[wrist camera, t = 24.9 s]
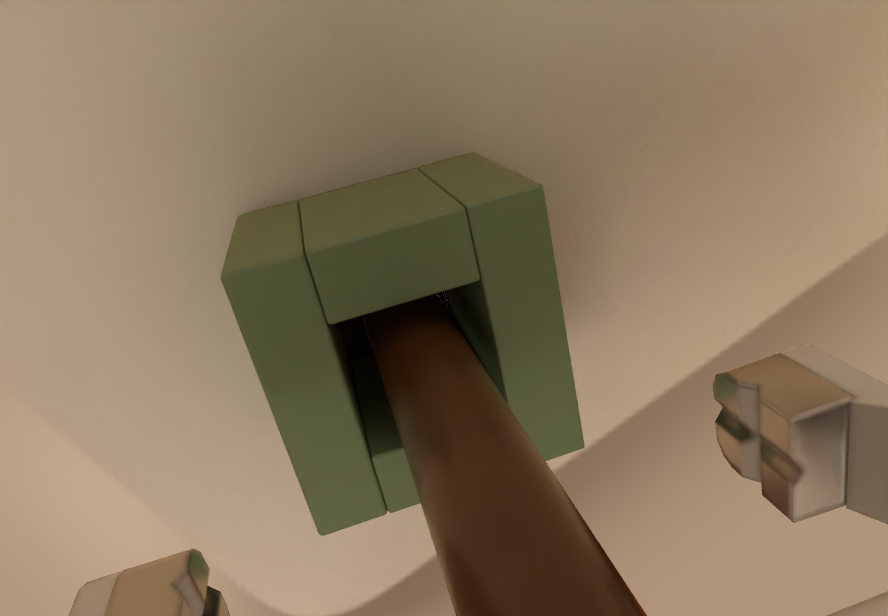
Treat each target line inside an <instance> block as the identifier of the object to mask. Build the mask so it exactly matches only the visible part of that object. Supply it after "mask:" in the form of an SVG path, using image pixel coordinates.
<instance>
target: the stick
mask: <svg viewBox="0 0 888 616" xmlns="http://www.w3.org/2000/svg"><path fill="white" fill-rule="evenodd" d="M362 318H363V321H364V324H365V327H366V331H367V334H368V337H369V340H370V343H371V346H372V350H373V353H374V356H375V359H376V362H377V365H378V369H379V372H380V375H381V378H382V381H383V385H384V388H385V391H386V394H387V397H388V400H389V404H390V407H391V410H392V413H393V416H394V419H395V423H396V426H397V429H398V432H399V435H400V438H401V442H402V445H403V448H404V451H405V454H406V457H407V461H408V464H409V467H410V470H411V473H412V477H413V480H414V483H415V486H416V489H417V492H418V496H419V499H420V502H421V505H422V508H423V511H424V515H425V518H426V521H427V524H428V527H429V530H430V534H431V537H432V540H433V543H434V546H435V550H436V553H437V556H438V559H439V562H440V565H441V569H442V572H443V575H444V578H445V581H446V584H447V587H448V590H449V594H450V597H451V600H452V603H453V606H454V610H455V613H456V616H647V615H646V614H645V612H644V611H643V609H642V608H641V606H640V605H639V603H638V602H637V600H636V598H635V597H634V595H633V594H632V593H631V591H630V589H629V588H628V587H627V585H626V583H625V582H624V580H623V579H622V577H621V576H620V574H619V573H618V571H617V570H616V568H615V567H614V565H613V563H612V562H611V560H610V559H609V558H608V556H607V554H606V553H605V551H604V550H603V548H602V547H601V545H600V544H599V542H598V541H597V539H596V538H595V536H594V535H593V533H592V532H591V530H590V529H589V527H588V526H587V524H586V523H585V521H584V520H583V518H582V516H581V515H580V513H579V512H578V510H577V509H576V507H575V506H574V504H573V503H572V501H571V500H570V498H569V497H568V495H567V494H566V492H565V491H564V489H563V487H562V486H561V485H560V483H559V481H558V480H557V478H556V477H555V475H554V474H553V472H552V471H551V469H550V468H549V466H548V465H547V463H546V462H545V460H544V459H543V457H542V456H541V454H540V453H539V451H538V450H537V448H536V446H535V445H534V443H533V442H532V440H531V439H530V437H529V436H528V434H527V433H526V431H525V430H524V428H523V427H522V425H521V424H520V422H519V421H518V419H517V418H516V416H515V415H514V413H513V412H512V410H511V408H510V407H509V405H508V404H507V402H506V401H505V399H504V398H503V396H502V395H501V393H500V392H499V390H498V389H497V387H496V386H495V384H494V383H493V381H492V380H491V378H490V377H489V375H488V374H487V372H486V371H485V369H484V367H483V366H482V364H481V363H480V361H479V360H478V358H477V357H476V355H475V354H474V352H473V351H472V349H471V348H470V346H469V345H468V343H467V342H466V340H465V339H464V337H463V336H462V334H461V333H460V331H459V329H458V328H457V326H456V325H455V323H454V322H453V320H452V319H451V317H450V316H449V314H448V313H447V311H446V310H445V308H444V307H443V305H442V304H441V302H440V301H439V299H438V298H437V296H436V295H435V294H432V295H429V296H426V297H422V298H419V299H416V300H412V301H409V302H406V303H402V304H399V305H395V306H392V307H389V308H385V309H382V310H379V311H375V312H372V313H369V314H365V315H362Z"/></svg>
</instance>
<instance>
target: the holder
mask: <svg viewBox="0 0 888 616" xmlns="http://www.w3.org/2000/svg"><path fill="white" fill-rule="evenodd" d="M221 281H222V283H223V286H224V288H225V291H226V294H227V296H228V299H229V301H230V304H231V307H232V309H233V312H234V314H235V317H236V320H237V322H238V325H239V327H240V330H241V333H242V335H243V338H244V340H245V343H246V346H247V348H248V351H249V353H250V356H251V359H252V361H253V364H254V366H255V369H256V372H257V374H258V377H259V379H260V382H261V385H262V387H263V390H264V392H265V395H266V398H267V400H268V403H269V405H270V408H271V411H272V413H273V416H274V418H275V421H276V424H277V426H278V429H279V431H280V434H281V437H282V439H283V442H284V444H285V447H286V450H287V452H288V455H289V457H290V460H291V463H292V465H293V468H294V470H295V473H296V476H297V478H298V481H299V483H300V486H301V489H302V491H303V494H304V496H305V499H306V502H307V504H308V507H309V509H310V512H311V515H312V517H313V520H314V522H315V525H316V528H317V530H318V533H319V534H320V535H327V534H329V533H332V532H335V531H338V530H341V529H344V528H347V527H350V526H353V525H356V524H359V523H362V522H365V521H368V520H371V519H374V518H377V517H380V516H383V515H385V514H386V513H387V510H388V511H389V512H390V513H392V512H395V511H398V510H401V509H404V508H407V507H410V506H413V505H416V504H419V503H421V502H420V499H419V496H418V492H417V489H416V486H415V483H414V480H413V477H412V473H411V470H410V467H409V464H408V461H407V457H406V454H405V451H404V448H403V445H402V442H401V438H400V435H399V432H398V429H397V426H396V423H395V419H394V416H393V413H392V410H391V407H390V404H389V400H388V397H387V394H386V391H385V388H384V385H383V381H382V378H381V375H380V372H379V369H378V365H377V362H376V359H375V356H374V354H373V355H369V356H366V357H363V358H360V359H356V360H353V361H351V362H350V363H349V360H348V357H347V354H346V351H345V348H344V344H343V341H342V338H341V335H340V332H339V329H338V326H337V323H338V322H342V321H345V320H348V319H352V318H355V317H358V316H362V315H365V314H369V313H372V312H375V311H379V310H382V309H385V308H389V307H392V306H395V305H399V304H402V303H406V302H409V301H412V300H416V299H419V298H422V297H426V296H429V295H432V294H436V293H439V292H443V291H447V295H448V299H449V304H450V308H451V312H452V316H453V321H454V323H455V325H456V326H457V328H458V329H459V331H460V333H461V334H462V336H463V337H464V339H465V340H466V342H467V343H468V345H469V346H470V348H471V349H472V351H473V352H474V354H475V355H476V357H477V358H478V360H479V361H480V363H481V364H482V366H483V367H484V369H485V371H486V372H487V374H488V375H489V377H490V378H491V380H492V381H493V383H494V384H495V386H496V387H497V389H498V390H499V392H500V393H501V395H502V396H503V398H504V399H505V401H506V402H507V404H508V405H509V407H510V408H511V410H512V412H513V413H514V415H515V416H516V418H517V419H518V421H519V422H520V424H521V425H522V427H523V428H524V430H525V431H526V433H527V434H528V436H529V437H530V439H531V440H532V442H533V443H534V445H535V446H536V448H537V450H538V451H539V453H540V454H541V456H542V457H543V459H544V460H545V461H547V460H550V459H553V458H556V457H559V456H561V455H564V454H567V453H570V452H573V451H576V450H579V449H582V448H584V441H583V435H582V428H581V422H580V416H579V410H578V403H577V397H576V391H575V385H574V378H573V372H572V366H571V360H570V354H569V347H568V341H567V335H566V329H565V322H564V316H563V310H562V304H561V297H560V291H559V285H558V279H557V272H556V266H555V260H554V254H553V247H552V241H551V235H550V229H549V223H548V216H547V210H546V204H545V198H544V191H543V186H542V185H541V184H539V183H537V182H535V181H532V180H530V179H528V178H526V177H524V176H522V175H520V174H518V173H516V172H514V171H512V170H509V169H507V168H505V167H503V166H501V165H499V164H497V163H495V162H493V161H491V160H489V159H486V158H484V157H482V156H480V155H478V154H476V153H469V154H466V155H462V156H458V157H455V158H451V159H447V160H443V161H440V162H436V163H432V164H429V165H425V166H421V167H419V168H418V169H411V170H407V171H403V172H400V173H396V174H392V175H389V176H385V177H381V178H378V179H374V180H370V181H366V182H363V183H359V184H355V185H352V186H348V187H344V188H340V189H337V190H333V191H329V192H326V193H322V194H318V195H314V196H311V197H307V198H303V199H301V200H299V203H298V202H297V201H292V202H289V203H285V204H281V205H278V206H274V207H270V208H266V209H263V210H259V211H255V212H252V213H248V214H244V215H241V216H239V217H237V220H236V223H235V227H234V230H233V234H232V238H231V241H230V245H229V248H228V252H227V255H226V259H225V262H224V266H223V270H222V273H221Z"/></svg>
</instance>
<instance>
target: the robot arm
mask: <svg viewBox="0 0 888 616" xmlns="http://www.w3.org/2000/svg"><path fill="white" fill-rule="evenodd" d="M713 392H714V399H715V400H716V401H718V402H719V403H720V404H721V405H722V406H723V408H722V410H721V412H720V414H719V416H718V417H717V419H716V421H715V424H716V434H717V440H718V443H719V445H720V448H721V450H722V453H723V455H724V457H725V458H726V459H727V461H728V462H729V464H730V465H731V466H732V468H734V469H735V470H736V471H737V472H738V473H739V474H740V475H741V476H742V477H744V478H747V479H751V480H754V481H757V482H761V483H762V495H763V496H764V497H765V498H767V500H769V501H770V502H771V503H772V504H773V505H774V506H775V507H776V508H778V509H779V510H780V511H781V512H782V513H783V514H784V515H786V516H787V517H788V518H789V519H790V520H791V521H792V522H793V523H795V522H798V521H801V520H804V519H807V518H810V517H813V516H815V515H818V514H821V513H824V512H827V511H830V510H833V509H836V508H839V507H842V506H845V505H847V507H846V508H848V509H850V510H853V511H856V512H858V513H861V514H863V515H866V516H868V517H871V518H874V519H876V520H879V521H881V522H884V523H887V524H888V385H886V384H884V383H882V382H881V381H879V380H876V379H875V378H873V377H871V376H869V375H867V374H865V373H863V372H861V371H860V370H858V369H856V368H854V367H852V366H850V365H848V364H847V363H845V362H843V361H841V360H839V359H837V358H835V357H833V356H832V355H830V354H828V353H826V352H824V351H822V350H820V349H818V348H816V347H815V346H813V345H807V344H800V345H797V346H794V347H791V348H789V349H786V350H783V351H781V352H778V353H775V354H773V355H772V356H770V357H767V358H764V359H761V360H758V361H755V362H752V363H749V364H746V365H743V366H740V367H737V368H734V369H731V370H729V371H726V372H723V373H720V374H717V375H716V377H715V380H714V383H713ZM208 577H209V567H208V565H207V563H206V561H205V560H204V558H203V556H202V554H201V552H200V551H198V550H196V549H190V550H187V551H184V552H181V553H178V554H174V555H171V556H168V557H165V558H162V559H158V560H155V561H152V562H149V563H145V564H142V565H139V566H136V567H133V568H129V569H126V570H124V571H123V572H117V573H114V574H111V575H108V576H105V577H102V578H99V579H96V580H93V581H90V582H87V583H86V584H85V585H84V586H82V587H81V588H80V589H79V591H78V593H77V596H76V598H75V601H74V603H73V606H72V609H71V611H70V614H69V616H230V614H229V611H228V608H227V604H226V602H225V600H224V598H223V596H222V594H221V592H220V591H218V590H215V589H213V588H211V587H209V586H207V583H208ZM827 616H888V591H887V592H885V593H883V594H880V595H877V596H875V597H872V598H870V599H867V600H865V601H862V602H860V603H857V604H855V605H852V606H850V607H847V608H845V609H842V610H840V611H837V612H835V613H832V614H830V615H827Z"/></svg>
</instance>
